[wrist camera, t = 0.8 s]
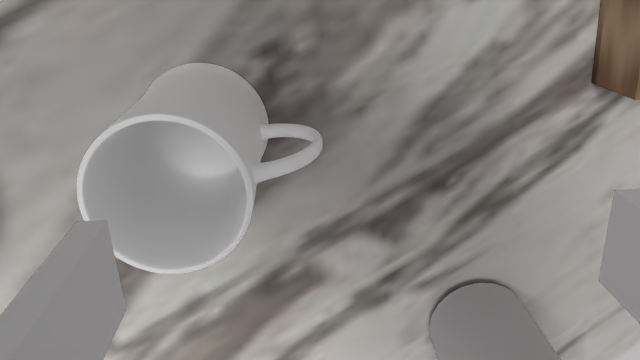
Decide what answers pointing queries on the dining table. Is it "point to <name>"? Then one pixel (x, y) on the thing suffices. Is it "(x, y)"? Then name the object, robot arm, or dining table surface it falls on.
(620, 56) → the carcass
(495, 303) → the can
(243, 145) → the mug
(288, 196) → the dining table surface
